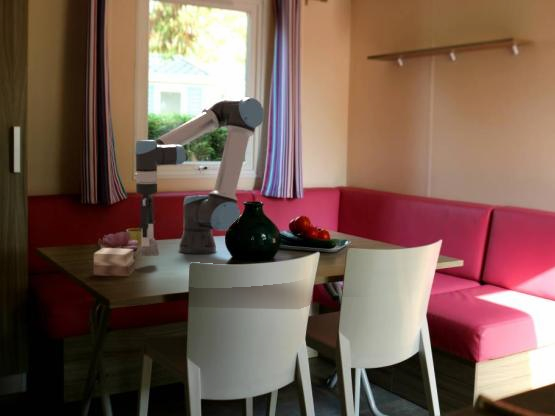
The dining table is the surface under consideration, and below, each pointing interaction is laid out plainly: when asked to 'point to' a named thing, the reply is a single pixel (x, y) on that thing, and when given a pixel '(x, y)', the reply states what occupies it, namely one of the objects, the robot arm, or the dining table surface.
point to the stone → (149, 249)
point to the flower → (118, 241)
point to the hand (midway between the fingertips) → (147, 243)
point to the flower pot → (135, 235)
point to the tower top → (113, 257)
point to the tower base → (114, 270)
